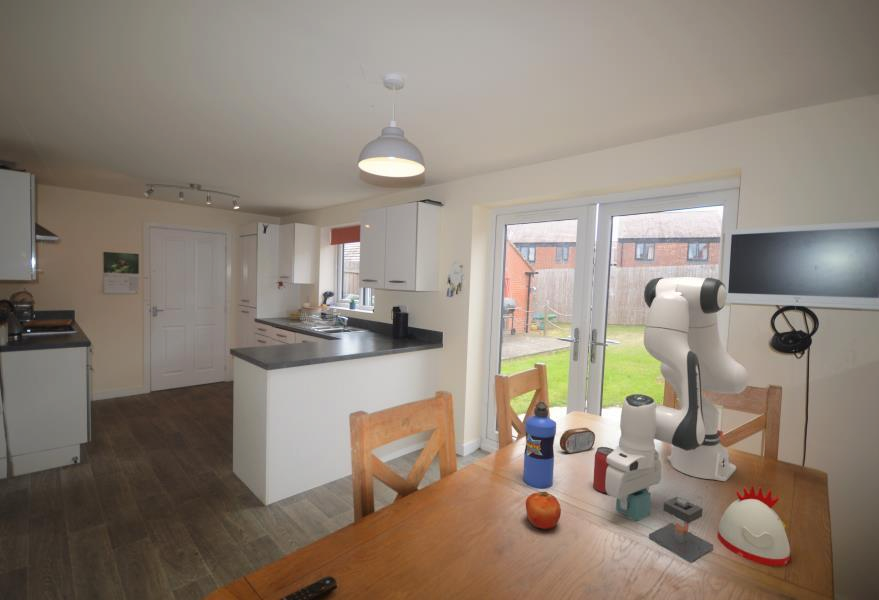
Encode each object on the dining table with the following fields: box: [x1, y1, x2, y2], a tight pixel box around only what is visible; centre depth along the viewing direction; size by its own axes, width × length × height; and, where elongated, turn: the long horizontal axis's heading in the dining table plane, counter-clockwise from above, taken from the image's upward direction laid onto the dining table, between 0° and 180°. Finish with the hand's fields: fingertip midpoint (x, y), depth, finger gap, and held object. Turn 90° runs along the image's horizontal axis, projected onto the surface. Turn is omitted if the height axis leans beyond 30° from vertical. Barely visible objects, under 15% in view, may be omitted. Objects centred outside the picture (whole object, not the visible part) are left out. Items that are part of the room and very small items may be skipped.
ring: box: [662, 496, 704, 524], centre depth 99 cm, size 6×6×2 cm
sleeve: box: [615, 489, 652, 522], centre depth 113 cm, size 6×6×6 cm
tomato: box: [525, 490, 562, 530], centre depth 106 cm, size 9×9×8 cm
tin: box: [559, 427, 596, 454], centre depth 152 cm, size 15×3×8 cm, turn 114°
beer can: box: [592, 446, 615, 494], centre depth 125 cm, size 7×7×12 cm
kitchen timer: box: [717, 484, 791, 567], centre depth 99 cm, size 14×14×15 cm
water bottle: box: [522, 401, 557, 490], centre depth 128 cm, size 9×9×25 cm
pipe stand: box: [648, 496, 714, 563], centre depth 100 cm, size 10×10×11 cm
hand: (633, 504), depth 113 cm, fingers closed on sleeve, 6 cm apart
